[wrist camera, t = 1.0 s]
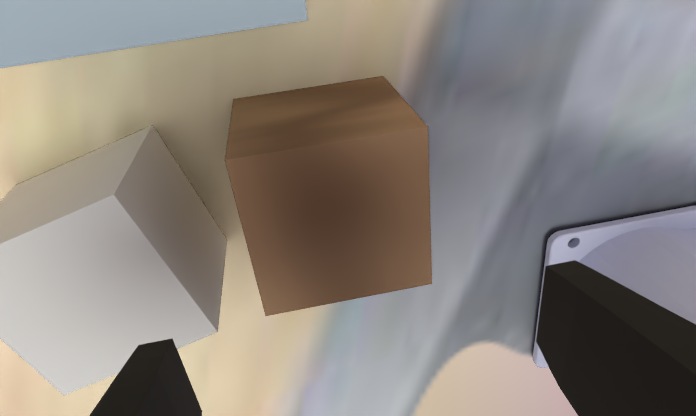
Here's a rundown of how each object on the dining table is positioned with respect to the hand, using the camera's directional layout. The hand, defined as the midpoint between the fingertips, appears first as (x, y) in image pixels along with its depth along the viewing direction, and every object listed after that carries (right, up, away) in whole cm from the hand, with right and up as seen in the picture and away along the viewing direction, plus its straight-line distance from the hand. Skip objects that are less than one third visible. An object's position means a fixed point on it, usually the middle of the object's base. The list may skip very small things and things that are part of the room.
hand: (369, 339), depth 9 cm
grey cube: (-8, +2, +8) cm, 12 cm away
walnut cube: (-1, +4, +8) cm, 9 cm away
